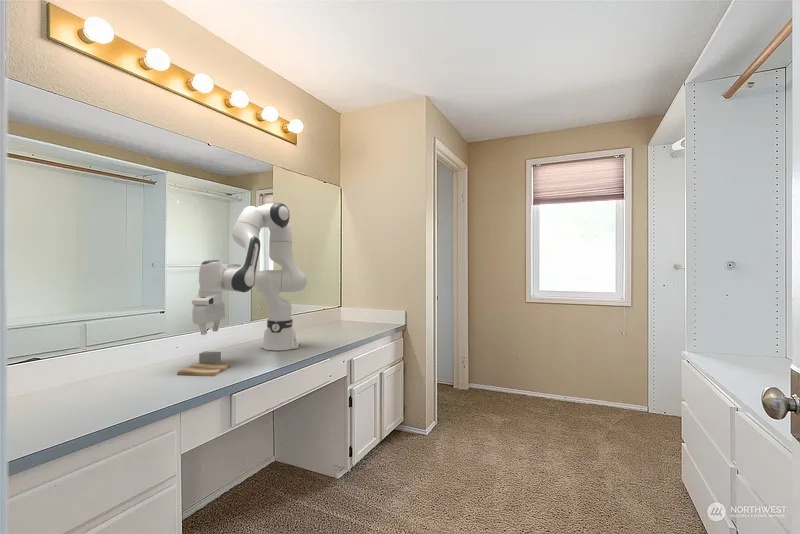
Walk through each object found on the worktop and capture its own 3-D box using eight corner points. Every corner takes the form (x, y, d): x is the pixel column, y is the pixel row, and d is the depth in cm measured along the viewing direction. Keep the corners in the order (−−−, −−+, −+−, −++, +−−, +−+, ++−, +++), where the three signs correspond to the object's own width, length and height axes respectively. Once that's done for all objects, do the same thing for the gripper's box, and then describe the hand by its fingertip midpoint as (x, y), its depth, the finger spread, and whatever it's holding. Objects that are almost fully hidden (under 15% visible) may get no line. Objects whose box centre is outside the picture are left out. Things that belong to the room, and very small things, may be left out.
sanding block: (204, 363, 169) (204, 351, 169) (220, 363, 169) (220, 351, 169) (199, 365, 165) (199, 353, 165) (216, 366, 165) (216, 353, 165)
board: (195, 366, 164) (195, 363, 164) (230, 367, 163) (230, 364, 163) (177, 374, 151) (177, 371, 151) (214, 375, 150) (214, 372, 150)
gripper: (215, 297, 178) (214, 329, 177) (189, 300, 157) (188, 336, 157) (229, 297, 177) (228, 329, 177) (205, 300, 157) (204, 336, 157)
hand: (209, 332), depth 167 cm, fingers open, 8 cm apart
